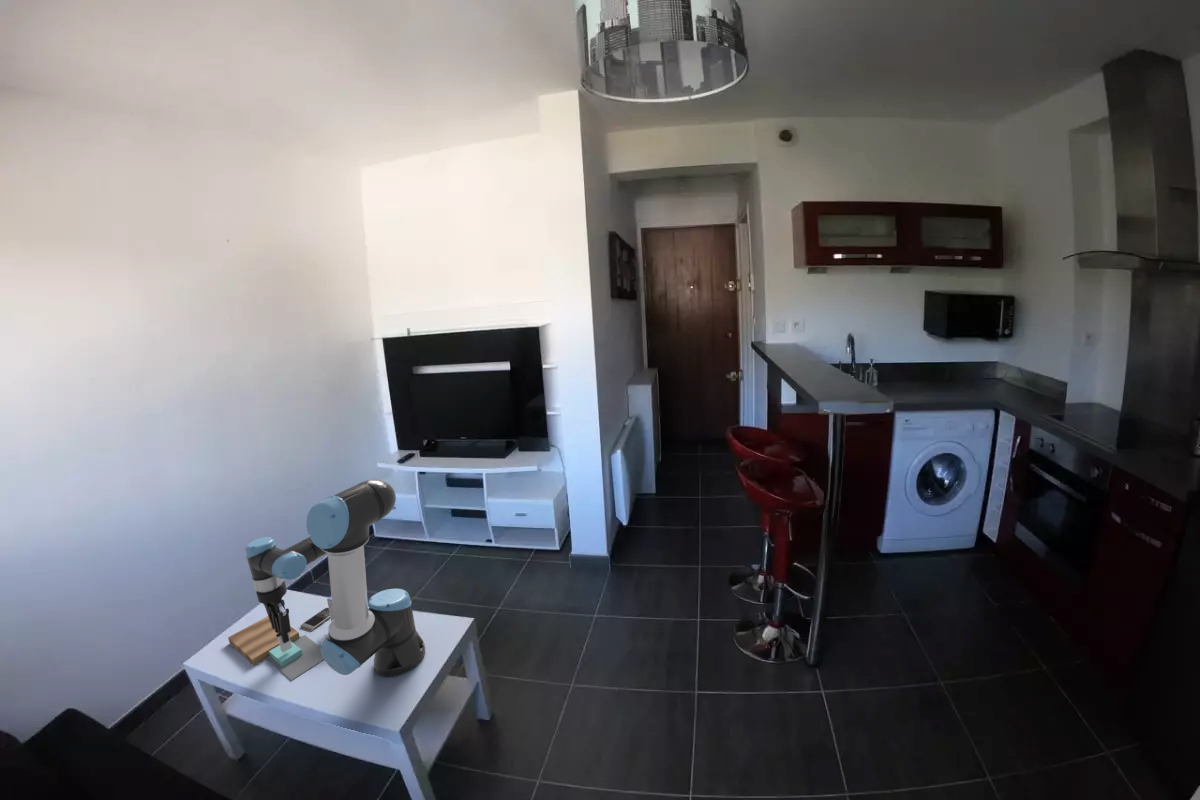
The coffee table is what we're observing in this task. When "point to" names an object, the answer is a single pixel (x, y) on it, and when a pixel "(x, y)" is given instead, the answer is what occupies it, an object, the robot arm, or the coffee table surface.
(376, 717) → the coffee table surface
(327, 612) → the cell phone
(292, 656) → the teal rectangular block
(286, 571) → the robot arm
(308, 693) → the coffee table surface
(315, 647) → the mat
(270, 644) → the wooden board
